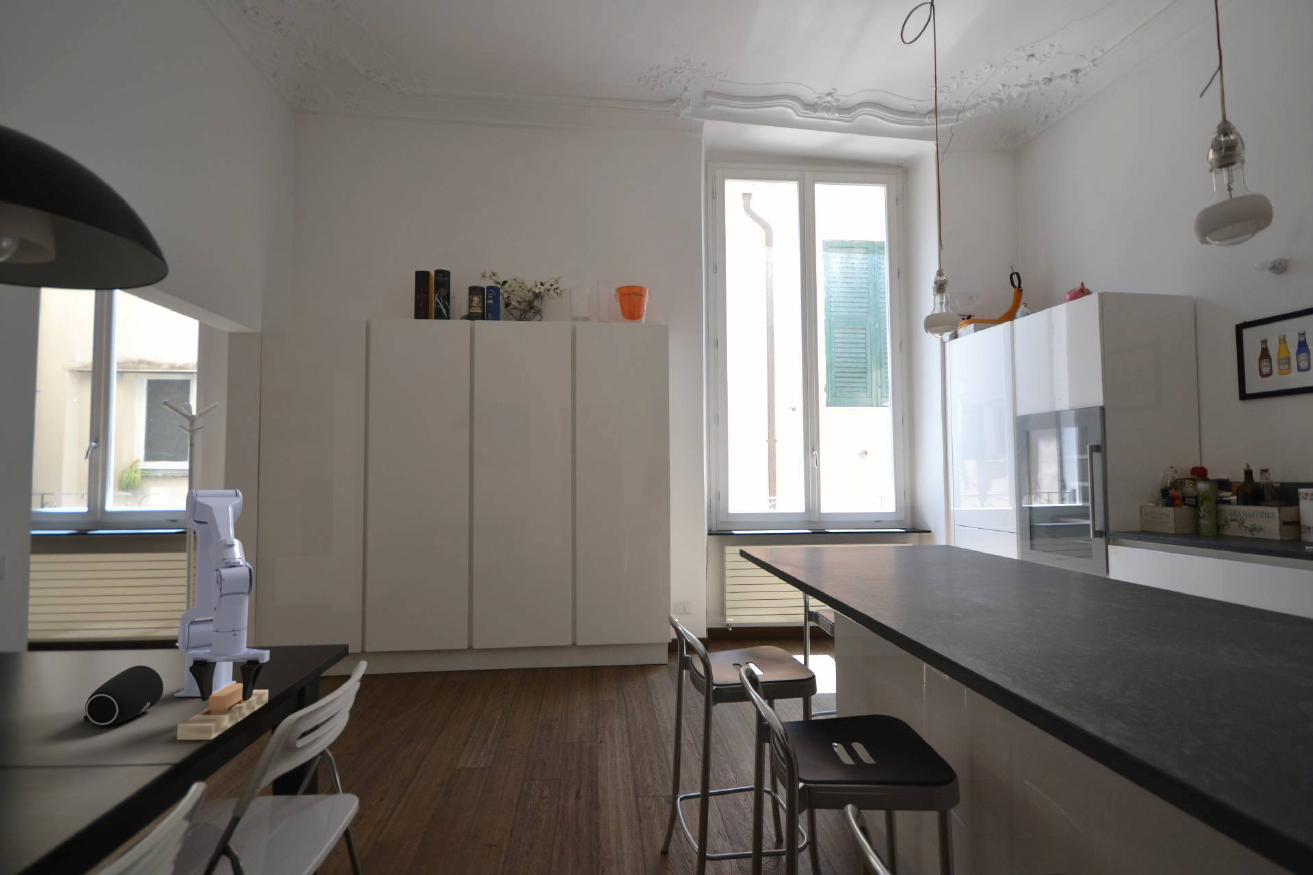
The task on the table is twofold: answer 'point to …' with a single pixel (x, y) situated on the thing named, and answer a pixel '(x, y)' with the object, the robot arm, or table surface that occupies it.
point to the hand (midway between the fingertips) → (226, 699)
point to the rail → (219, 719)
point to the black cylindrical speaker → (124, 696)
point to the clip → (225, 699)
